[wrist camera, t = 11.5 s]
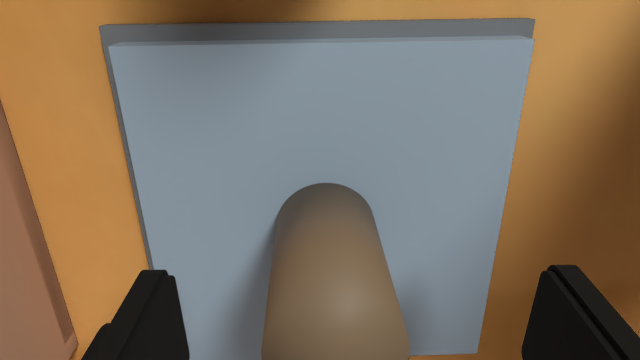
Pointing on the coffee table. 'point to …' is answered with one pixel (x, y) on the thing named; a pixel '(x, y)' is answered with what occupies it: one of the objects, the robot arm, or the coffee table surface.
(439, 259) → the lid
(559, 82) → the coffee table surface
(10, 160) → the dish
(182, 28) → the mat
